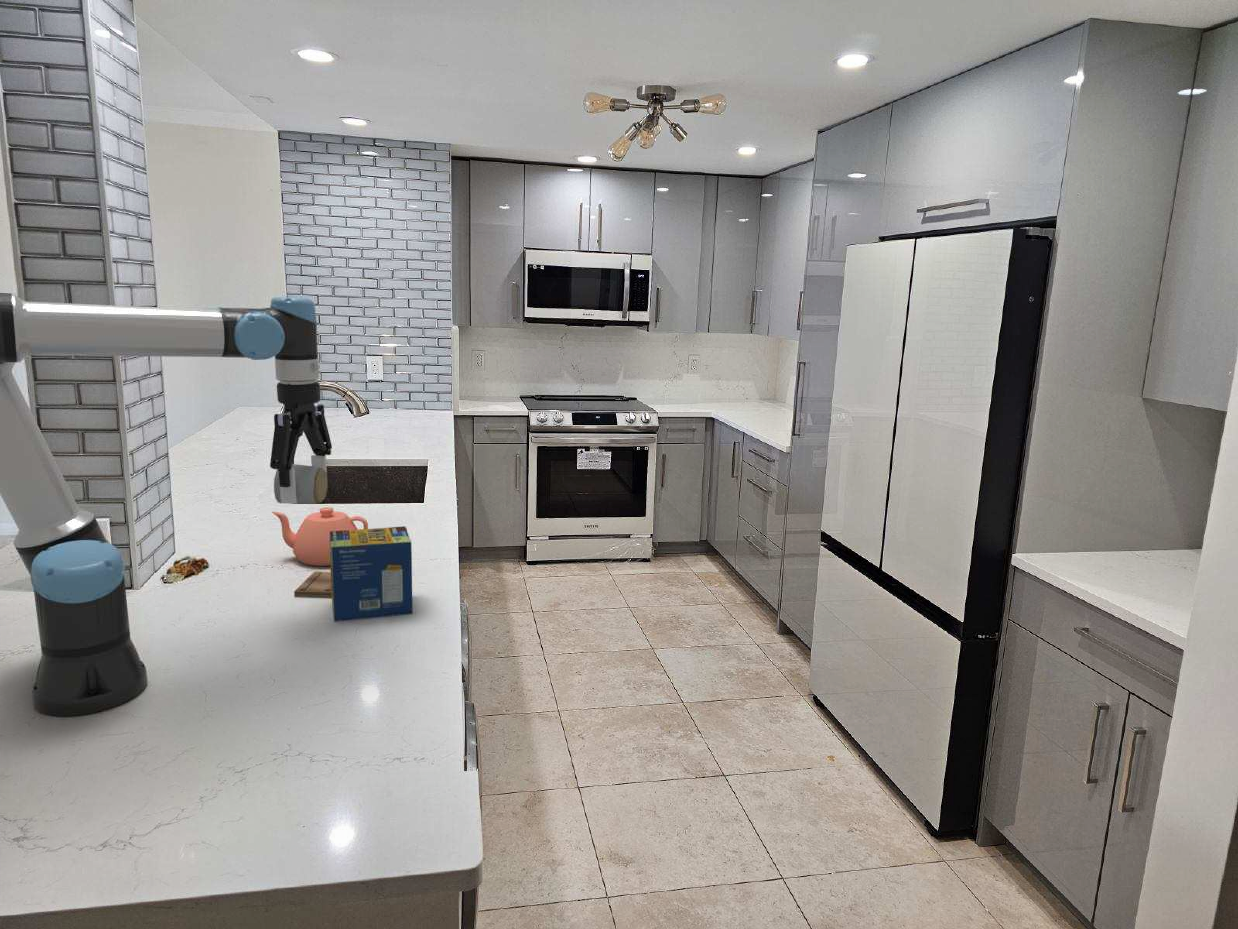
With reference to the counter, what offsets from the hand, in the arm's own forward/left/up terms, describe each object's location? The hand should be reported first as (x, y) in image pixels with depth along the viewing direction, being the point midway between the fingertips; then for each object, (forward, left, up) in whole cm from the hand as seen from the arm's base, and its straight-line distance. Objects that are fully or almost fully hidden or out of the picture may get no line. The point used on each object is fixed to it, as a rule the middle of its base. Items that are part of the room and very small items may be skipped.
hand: (305, 495), depth 154 cm
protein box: (+6, -10, -25) cm, 27 cm away
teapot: (+31, +14, -25) cm, 42 cm away
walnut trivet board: (+14, +5, -24) cm, 28 cm away
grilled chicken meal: (+14, +38, -25) cm, 47 cm away
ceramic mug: (0, 0, -1) cm, 2 cm away
